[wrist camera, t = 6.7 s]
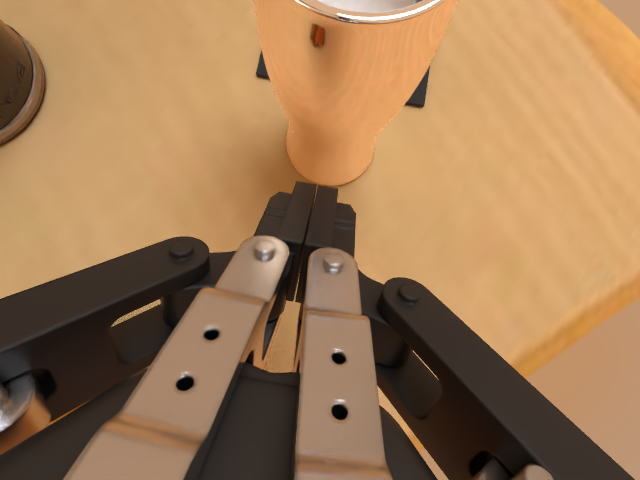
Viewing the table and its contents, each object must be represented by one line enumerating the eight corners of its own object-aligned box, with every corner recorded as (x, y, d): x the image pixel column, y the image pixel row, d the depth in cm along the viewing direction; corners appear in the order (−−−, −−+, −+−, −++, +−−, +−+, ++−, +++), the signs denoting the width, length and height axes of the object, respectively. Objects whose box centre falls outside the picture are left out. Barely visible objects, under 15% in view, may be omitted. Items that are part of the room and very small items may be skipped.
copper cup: (346, 80, 25) (403, -223, 10) (399, 161, 24) (541, -42, 10) (261, 126, 24) (191, -130, 10) (312, 211, 24) (321, 74, 9)
